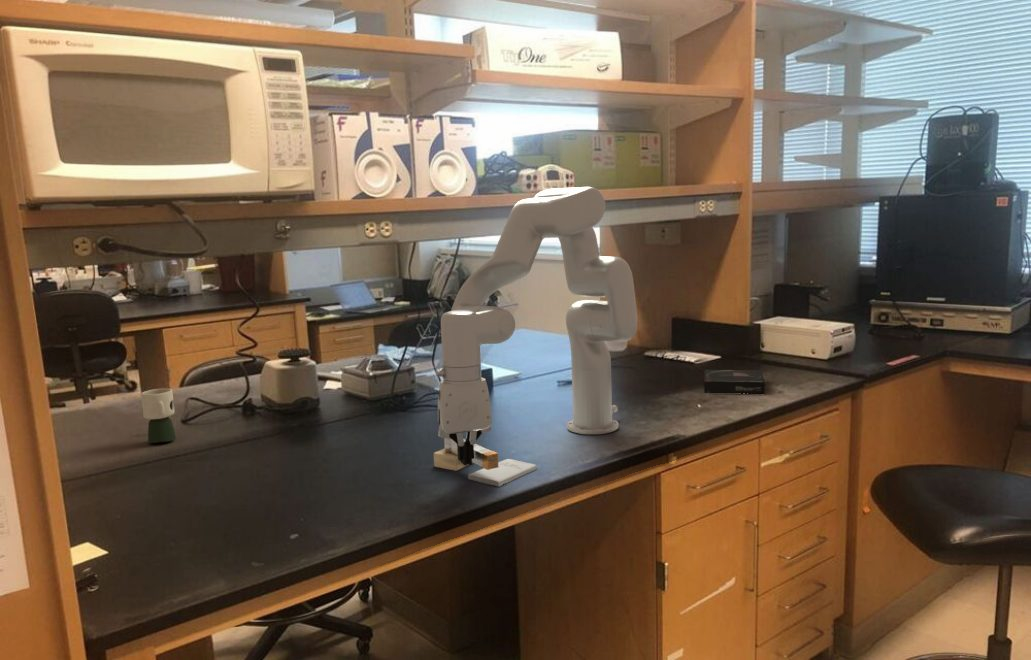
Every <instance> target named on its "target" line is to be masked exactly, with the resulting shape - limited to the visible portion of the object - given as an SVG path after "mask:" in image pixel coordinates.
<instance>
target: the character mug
mask: <svg viewBox="0 0 1031 660" xmlns="http://www.w3.org/2000/svg"><path fill="white" fill-rule="evenodd" d="M173 394H174V393H173V389H172V388H167V387H166V388H153V389H149V390H145V391H142V392H141V393H140V397H141V398H140V399H141V406H142V414H143V415H142V416H143V418H144V419H146V420H149V421H148V427H147V441H148V443H149V444H153V443H161V444H165V442H171V441H174V440H176V439H177V437H176V432H175V427H174V424H173V421H172V419H171V416H173V415H174V414H175V403H174V395H173Z"/></svg>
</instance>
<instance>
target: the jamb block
mask: <svg viewBox="0 0 1031 660" xmlns="http://www.w3.org/2000/svg"><path fill="white" fill-rule="evenodd" d="M433 464H434V465H433V466H434V467H436V468H440V469H445V470H451V471H459V470H461V469H463V468H465V467H467V466H470V465H469V464H467V465H463V464H462V463H461V461H459V460H458V455H456V454H454V453H452V452H446V451H445V447H444V448H442V449H440V450H438V451H435V452H433ZM472 464H474V463H473V462H472Z"/></svg>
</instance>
